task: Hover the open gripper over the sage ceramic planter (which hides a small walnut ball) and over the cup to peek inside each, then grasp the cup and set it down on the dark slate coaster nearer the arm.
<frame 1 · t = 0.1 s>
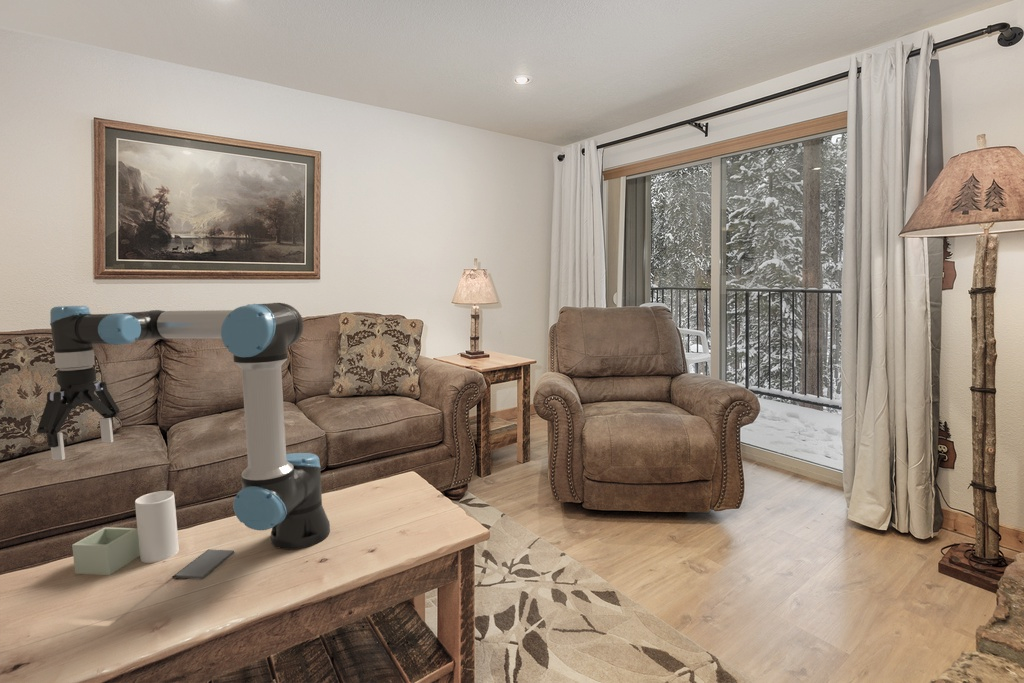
hand: (84, 450, 132), 28 cm above the table, fingers open, 13 cm apart
cup: (160, 557, 133), on the table
coaster: (196, 564, 129), on the table
walnut ball: (108, 563, 128), point 1 cm above the table, touching planter
planter: (109, 567, 128), on the table
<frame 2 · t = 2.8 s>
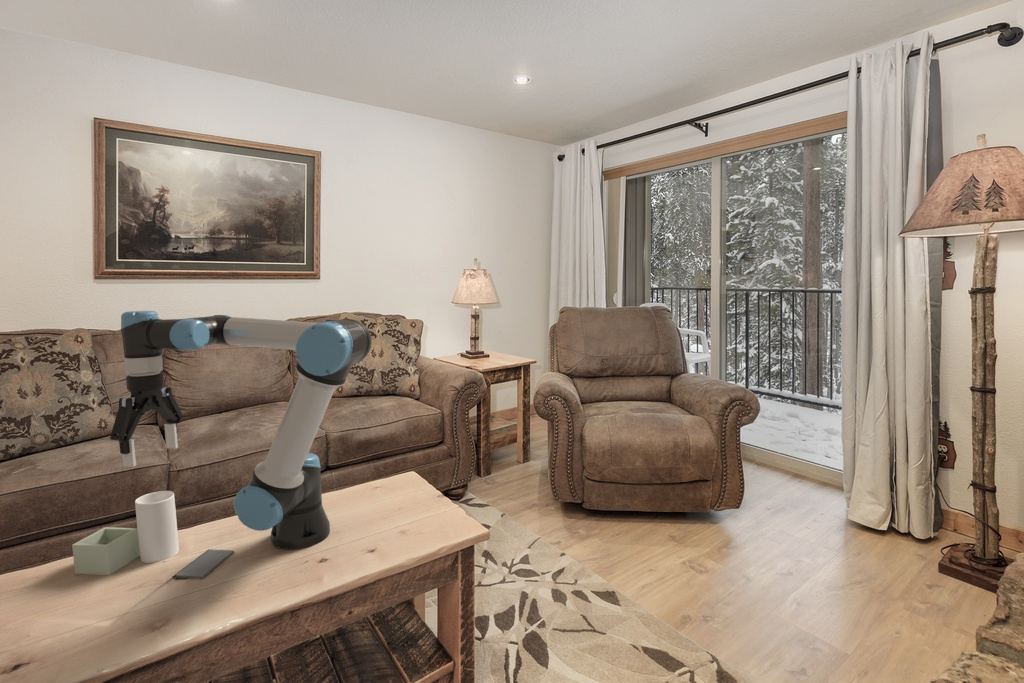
hand: (152, 456, 130), 26 cm above the table, fingers open, 13 cm apart
nothing on the table moved.
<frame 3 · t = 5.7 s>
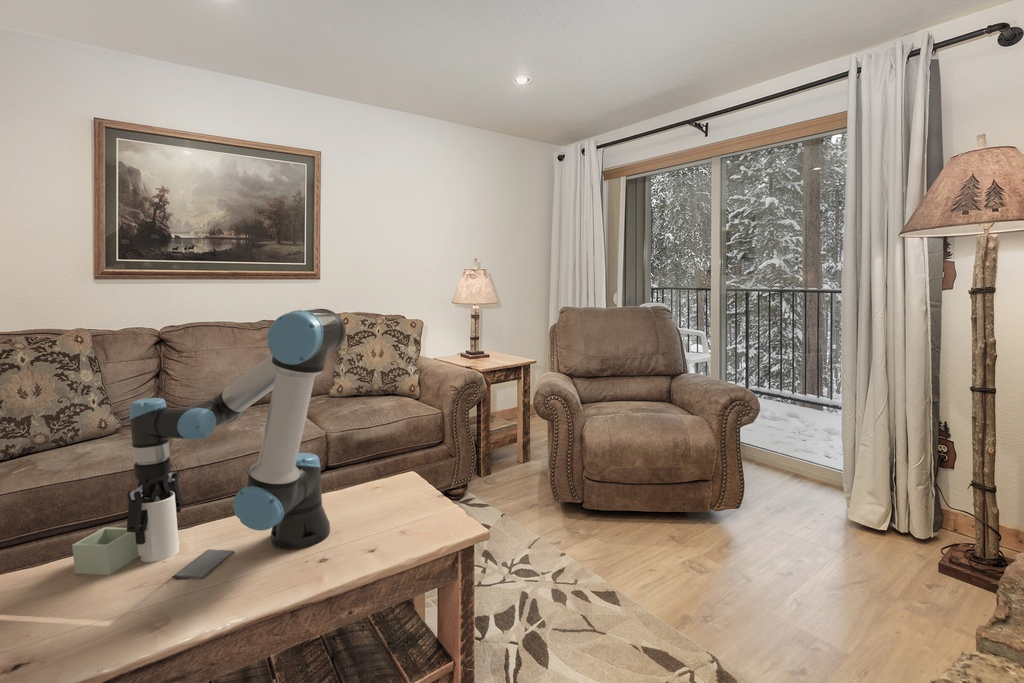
hand: (158, 545, 133), 3 cm above the table, fingers closed on cup, 8 cm apart
cup: (160, 557, 133), on the table, touching gripper
everything else where it was.
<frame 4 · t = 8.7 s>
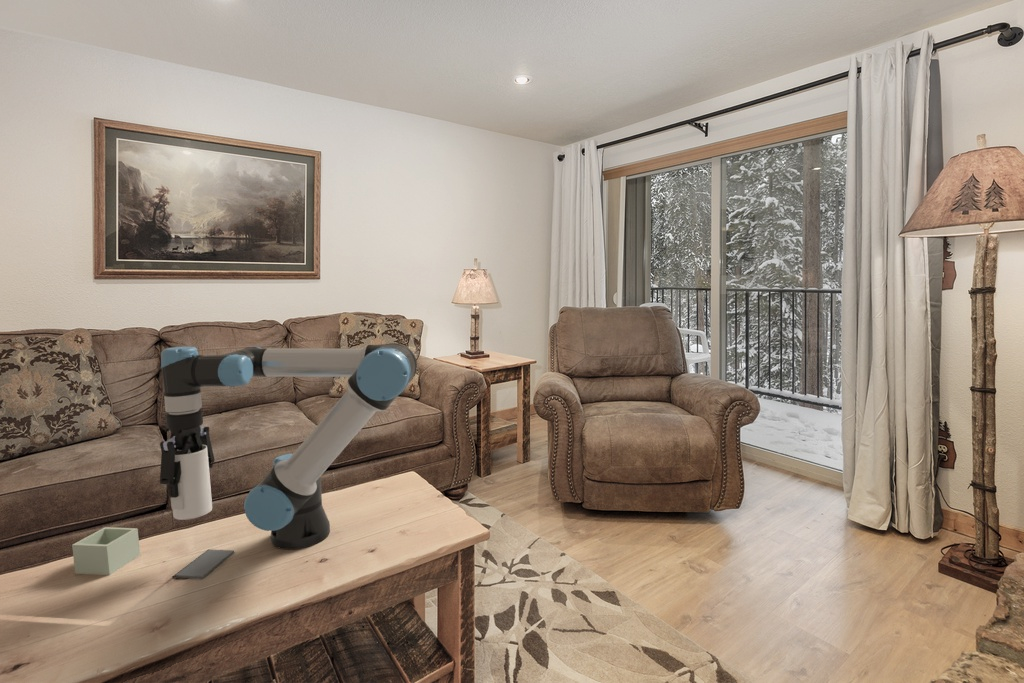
hand: (191, 500, 127), 16 cm above the table, fingers closed on cup, 8 cm apart
cup: (193, 513, 128), point 13 cm above the table, touching gripper
everything else where it was.
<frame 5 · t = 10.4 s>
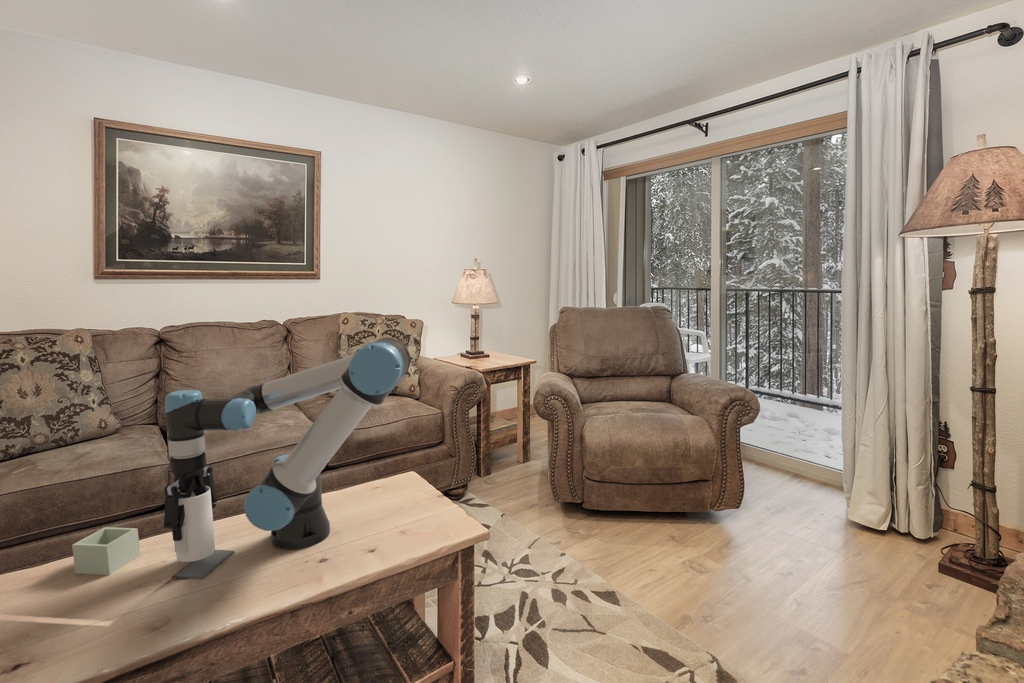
hand: (194, 542, 129), 6 cm above the table, fingers closed on cup, 8 cm apart
cup: (196, 554, 129), point 3 cm above the table, touching gripper
everything else where it was.
when the fingers open (5 cm above the table, at t = 11.6 s): cup stays where it is, resting on coaster.
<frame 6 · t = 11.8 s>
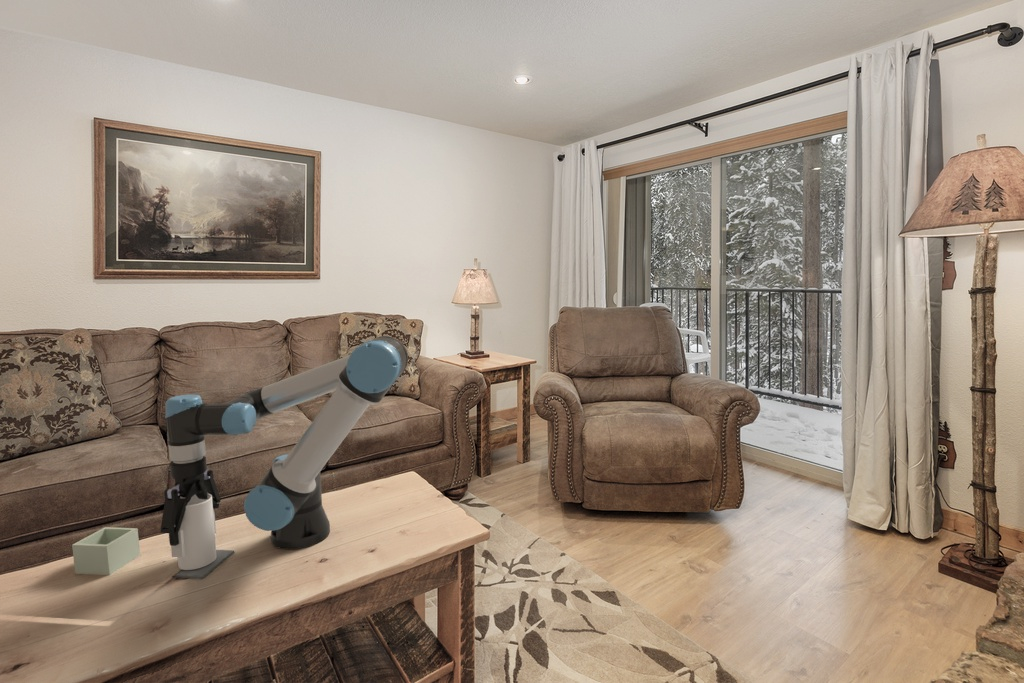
hand: (195, 544, 129), 5 cm above the table, fingers open, 10 cm apart
cup: (197, 562, 129), point 1 cm above the table, touching coaster
everything else where it was.
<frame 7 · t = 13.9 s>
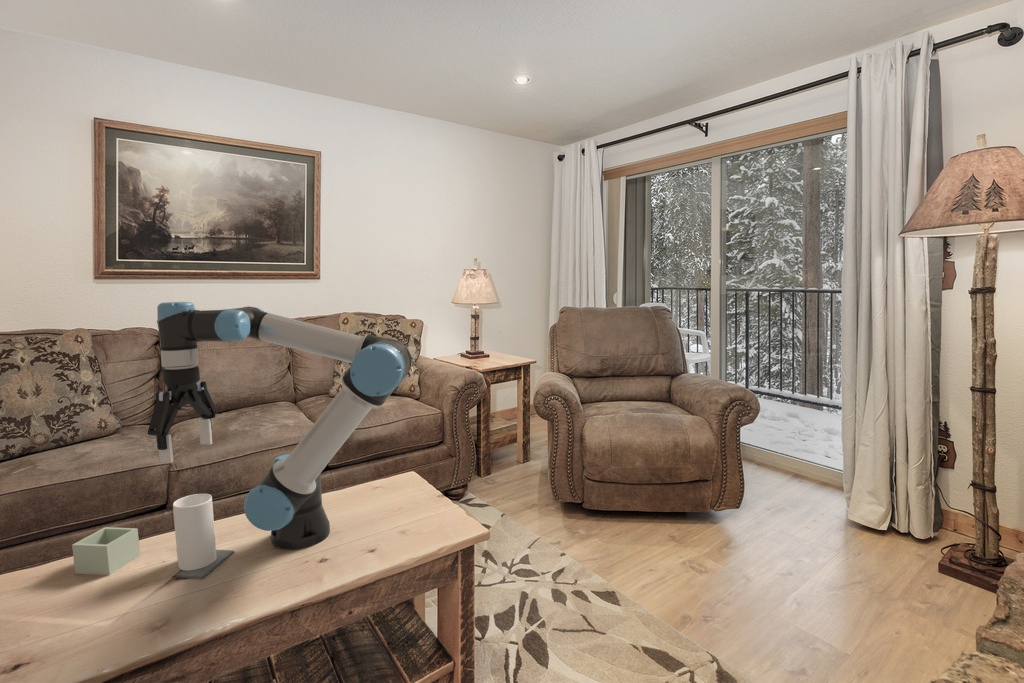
hand: (187, 452, 126), 29 cm above the table, fingers open, 13 cm apart
nothing on the table moved.
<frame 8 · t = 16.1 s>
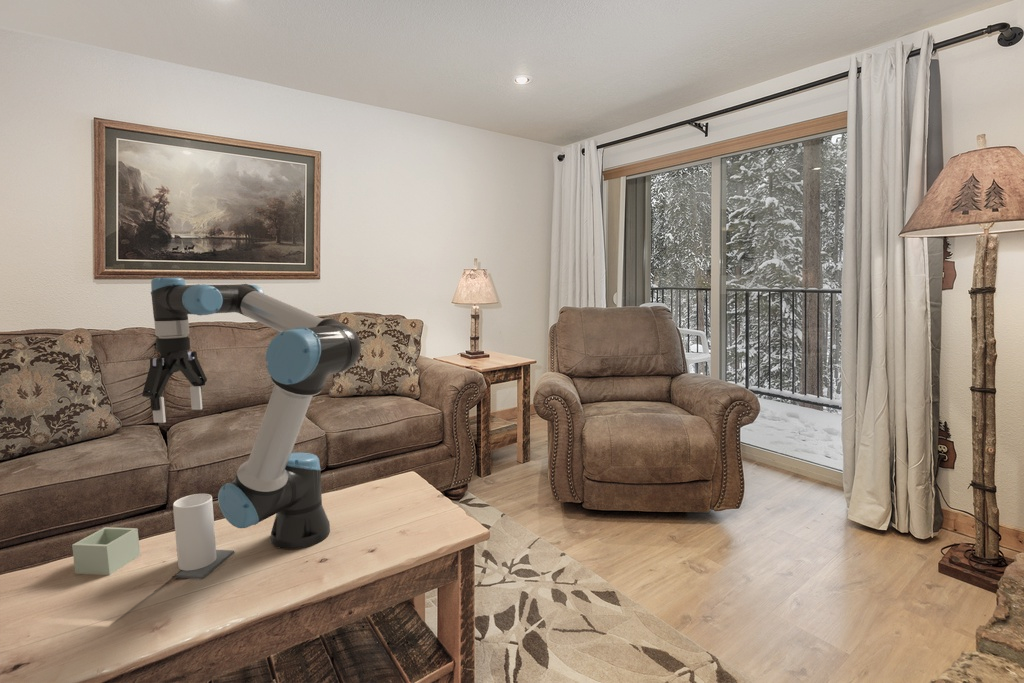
hand: (179, 415, 138), 35 cm above the table, fingers open, 13 cm apart
nothing on the table moved.
at the end: cup 0.3 cm from the coaster (horizontally); cup tilted 0°; cup resting on coaster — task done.
